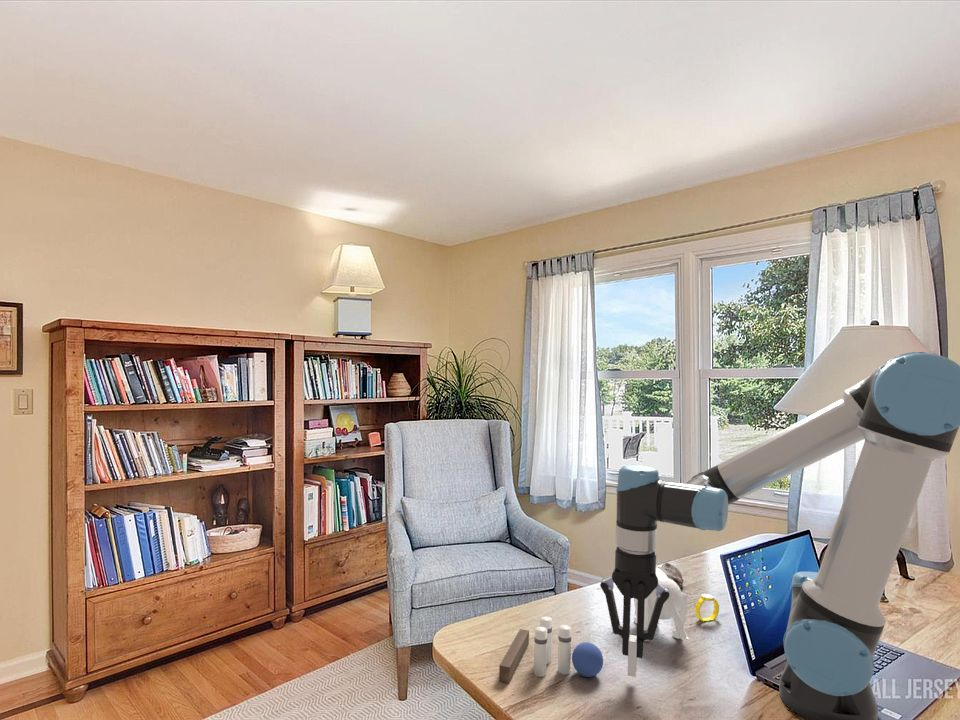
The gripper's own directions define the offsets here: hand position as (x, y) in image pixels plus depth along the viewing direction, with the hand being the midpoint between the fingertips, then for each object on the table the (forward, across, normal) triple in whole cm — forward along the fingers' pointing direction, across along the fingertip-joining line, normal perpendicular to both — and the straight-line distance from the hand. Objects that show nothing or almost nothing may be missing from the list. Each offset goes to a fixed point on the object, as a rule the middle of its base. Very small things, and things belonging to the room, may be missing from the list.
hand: (632, 672), depth 108 cm
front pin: (+2, +13, 0) cm, 13 cm away
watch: (+2, -16, -35) cm, 38 cm away
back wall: (+2, +23, 0) cm, 23 cm away
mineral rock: (+3, -7, -55) cm, 55 cm away
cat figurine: (+2, -4, -24) cm, 24 cm away
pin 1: (+2, +17, -2) cm, 18 cm away
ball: (-1, +8, 0) cm, 8 cm away
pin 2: (+2, +17, +3) cm, 18 cm away
